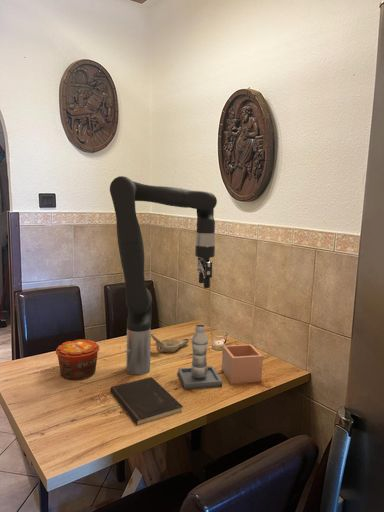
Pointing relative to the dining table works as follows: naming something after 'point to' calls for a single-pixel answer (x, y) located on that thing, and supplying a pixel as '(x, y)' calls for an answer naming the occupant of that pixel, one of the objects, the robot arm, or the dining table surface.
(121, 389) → the hardcover book
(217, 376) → the tray
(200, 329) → the plastic bottle
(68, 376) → the food container
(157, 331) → the dining table surface
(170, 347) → the oil lamp
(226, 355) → the pink open box
